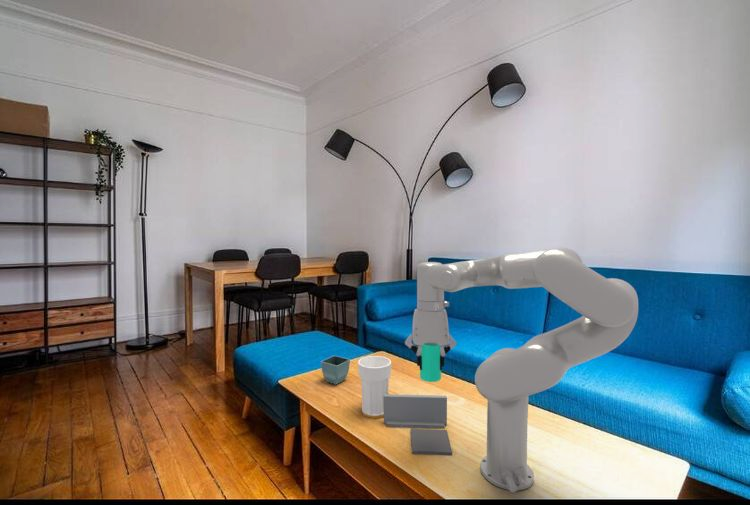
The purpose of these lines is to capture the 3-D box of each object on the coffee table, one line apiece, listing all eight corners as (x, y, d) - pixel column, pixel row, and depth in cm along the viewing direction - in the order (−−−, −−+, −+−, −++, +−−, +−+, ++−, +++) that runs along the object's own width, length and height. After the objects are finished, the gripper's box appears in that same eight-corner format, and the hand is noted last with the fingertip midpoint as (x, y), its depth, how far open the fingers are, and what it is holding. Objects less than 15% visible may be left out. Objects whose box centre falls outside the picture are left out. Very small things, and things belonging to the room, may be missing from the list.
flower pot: (350, 380, 146) (350, 359, 145) (337, 388, 138) (337, 365, 138) (334, 375, 150) (334, 355, 150) (320, 383, 143) (320, 361, 142)
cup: (351, 411, 120) (351, 362, 119) (374, 400, 128) (373, 353, 127) (375, 424, 112) (375, 370, 111) (398, 410, 120) (398, 361, 119)
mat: (452, 455, 96) (452, 452, 96) (411, 453, 97) (411, 450, 97) (446, 432, 107) (446, 429, 107) (410, 431, 108) (410, 428, 108)
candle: (441, 374, 103) (441, 334, 102) (440, 382, 97) (440, 340, 97) (420, 372, 104) (420, 333, 104) (419, 381, 98) (419, 339, 98)
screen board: (447, 428, 109) (447, 400, 108) (383, 426, 110) (383, 398, 110) (445, 420, 114) (445, 393, 113) (384, 418, 115) (383, 391, 115)
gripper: (458, 303, 103) (458, 364, 104) (400, 302, 104) (400, 363, 105) (463, 308, 95) (462, 374, 96) (400, 308, 96) (400, 373, 98)
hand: (430, 367), depth 101 cm, fingers closed on candle, 4 cm apart
